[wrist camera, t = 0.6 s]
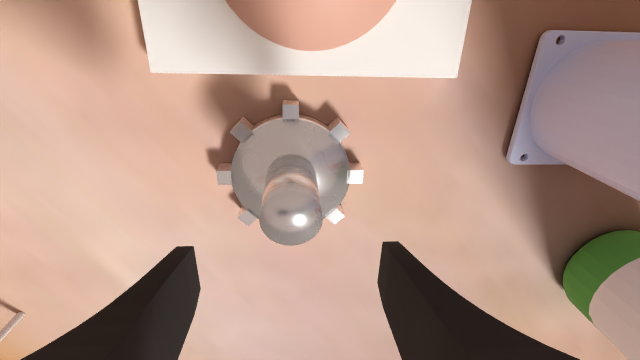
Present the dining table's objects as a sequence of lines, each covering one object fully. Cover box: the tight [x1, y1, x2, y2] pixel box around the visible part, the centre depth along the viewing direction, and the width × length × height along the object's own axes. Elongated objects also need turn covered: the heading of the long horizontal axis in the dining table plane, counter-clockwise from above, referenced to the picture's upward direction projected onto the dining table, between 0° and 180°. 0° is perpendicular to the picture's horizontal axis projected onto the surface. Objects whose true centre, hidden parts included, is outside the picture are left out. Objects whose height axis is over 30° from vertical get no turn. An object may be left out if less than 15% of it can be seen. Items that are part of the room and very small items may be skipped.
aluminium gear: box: [217, 100, 364, 245], centre depth 18 cm, size 9×9×6 cm
